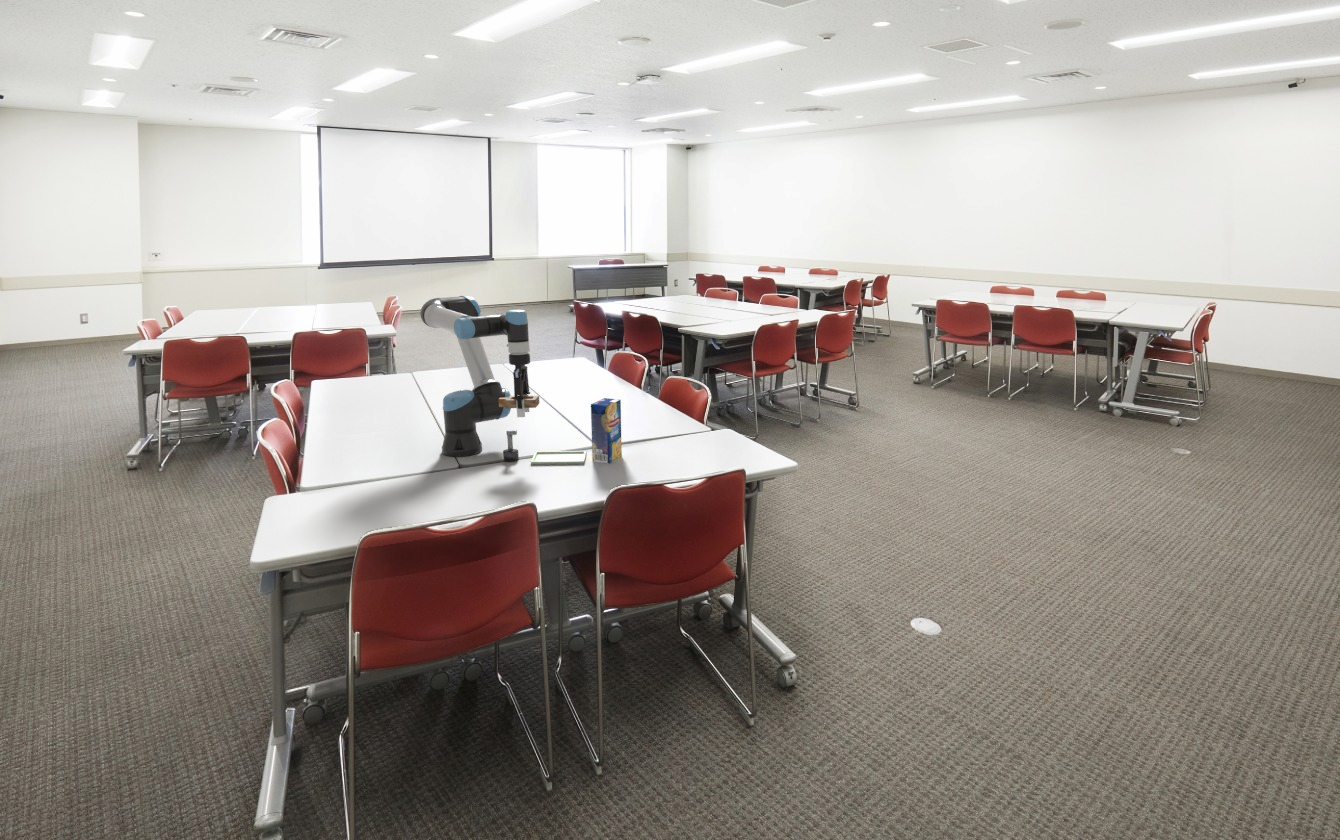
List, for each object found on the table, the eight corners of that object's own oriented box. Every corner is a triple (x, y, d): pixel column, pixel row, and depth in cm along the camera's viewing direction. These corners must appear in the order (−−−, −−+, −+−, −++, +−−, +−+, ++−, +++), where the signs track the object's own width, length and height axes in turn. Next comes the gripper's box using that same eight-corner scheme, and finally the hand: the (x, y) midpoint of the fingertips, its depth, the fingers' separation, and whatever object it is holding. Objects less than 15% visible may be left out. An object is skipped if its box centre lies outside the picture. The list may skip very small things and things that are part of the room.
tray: (530, 465, 275) (530, 461, 275) (535, 454, 288) (535, 451, 287) (584, 464, 276) (584, 461, 275) (586, 453, 288) (586, 450, 288)
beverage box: (621, 455, 286) (620, 399, 281) (608, 463, 277) (607, 406, 271) (605, 453, 289) (604, 398, 283) (592, 461, 279) (590, 404, 274)
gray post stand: (502, 462, 278) (500, 432, 275) (504, 457, 284) (503, 428, 281) (517, 461, 279) (515, 432, 276) (519, 457, 284) (518, 428, 281)
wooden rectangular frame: (539, 403, 279) (539, 395, 278) (535, 407, 271) (535, 399, 271) (502, 404, 279) (501, 396, 278) (497, 408, 271) (496, 400, 271)
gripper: (514, 349, 280) (519, 408, 286) (502, 357, 261) (507, 421, 266) (534, 348, 280) (538, 408, 286) (523, 357, 260) (528, 420, 266)
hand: (523, 414), depth 276 cm, fingers closed on wooden rectangular frame, 8 cm apart
